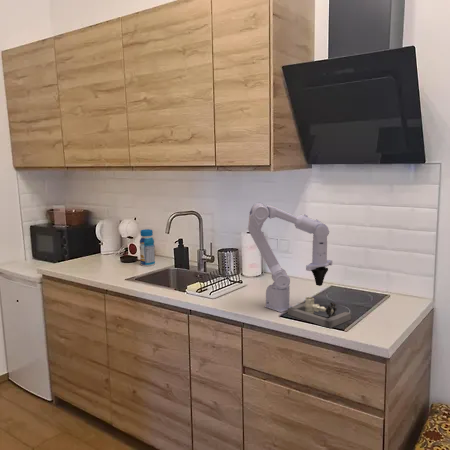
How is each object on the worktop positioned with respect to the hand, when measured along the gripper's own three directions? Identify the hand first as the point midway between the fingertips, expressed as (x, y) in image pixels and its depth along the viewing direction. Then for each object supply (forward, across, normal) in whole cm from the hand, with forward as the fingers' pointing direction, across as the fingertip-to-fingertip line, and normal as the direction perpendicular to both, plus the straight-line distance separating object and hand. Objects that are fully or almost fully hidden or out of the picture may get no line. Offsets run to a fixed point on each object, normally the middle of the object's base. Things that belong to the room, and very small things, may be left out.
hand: (319, 285), depth 191 cm
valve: (+10, -8, -6) cm, 14 cm away
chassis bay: (+9, -8, -7) cm, 14 cm away
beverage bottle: (+10, -11, +113) cm, 114 cm away
